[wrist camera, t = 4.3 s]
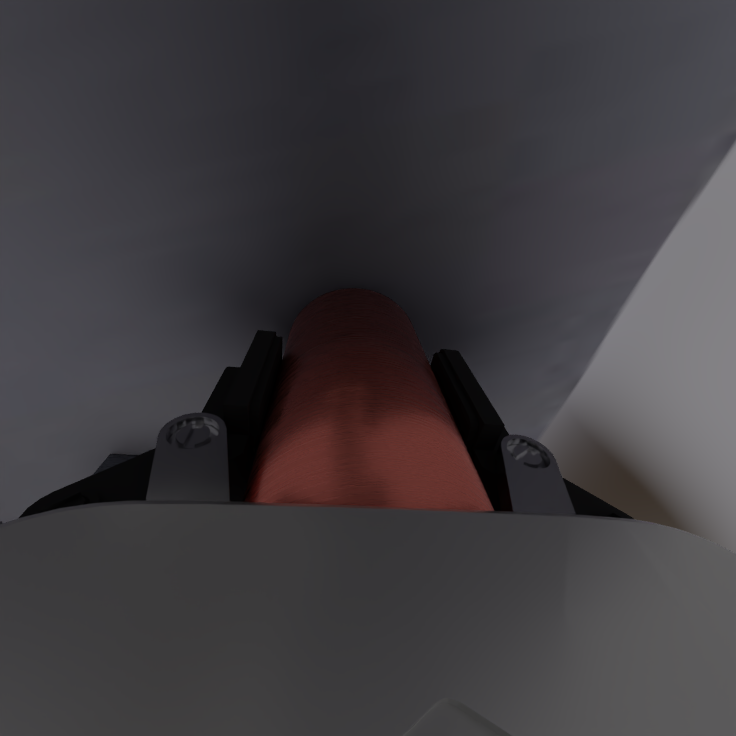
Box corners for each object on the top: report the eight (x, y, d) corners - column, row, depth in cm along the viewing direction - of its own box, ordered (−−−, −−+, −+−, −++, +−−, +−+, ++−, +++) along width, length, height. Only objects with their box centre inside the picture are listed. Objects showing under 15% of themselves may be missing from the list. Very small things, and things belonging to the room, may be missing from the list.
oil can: (290, 279, 12) (-285, 1721, 1) (429, 297, 13) (1050, 1241, 2) (286, 396, 15) (115, 1163, 3) (402, 405, 15) (573, 1070, 4)
